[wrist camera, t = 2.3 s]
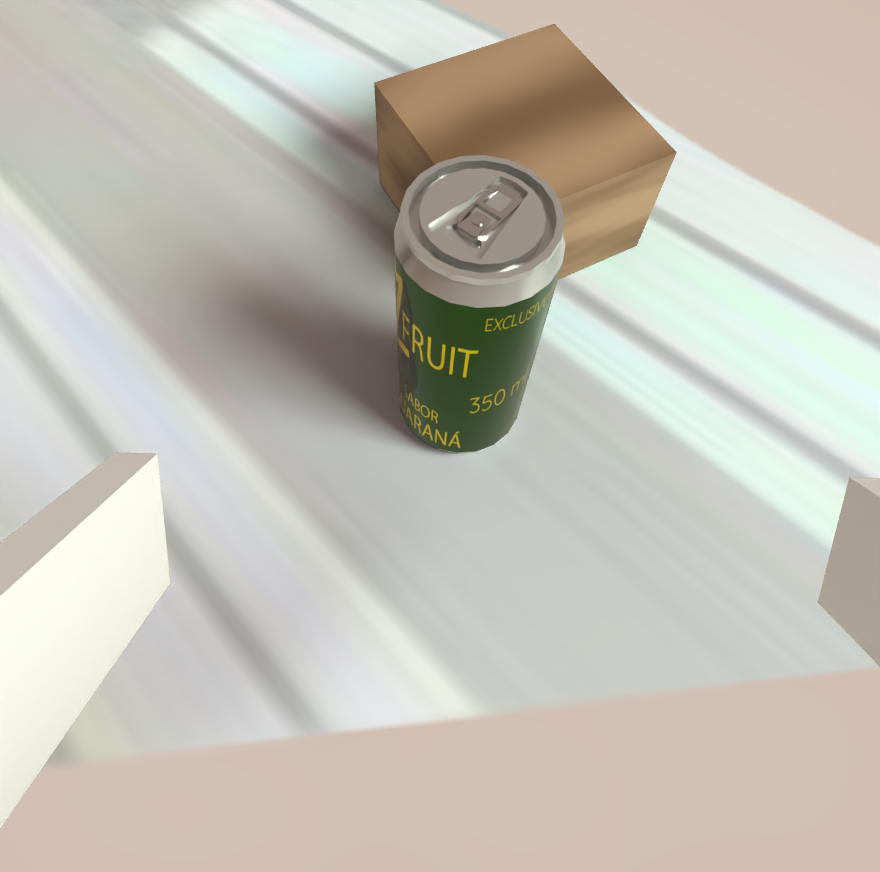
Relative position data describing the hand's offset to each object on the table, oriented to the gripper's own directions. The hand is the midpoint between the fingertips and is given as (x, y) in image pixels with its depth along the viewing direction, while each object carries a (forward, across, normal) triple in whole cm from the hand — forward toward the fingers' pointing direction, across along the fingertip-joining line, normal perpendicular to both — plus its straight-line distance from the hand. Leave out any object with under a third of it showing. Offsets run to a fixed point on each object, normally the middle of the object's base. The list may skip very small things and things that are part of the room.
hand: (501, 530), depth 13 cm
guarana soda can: (+18, 0, -3) cm, 18 cm away
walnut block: (+26, +2, +6) cm, 27 cm away
